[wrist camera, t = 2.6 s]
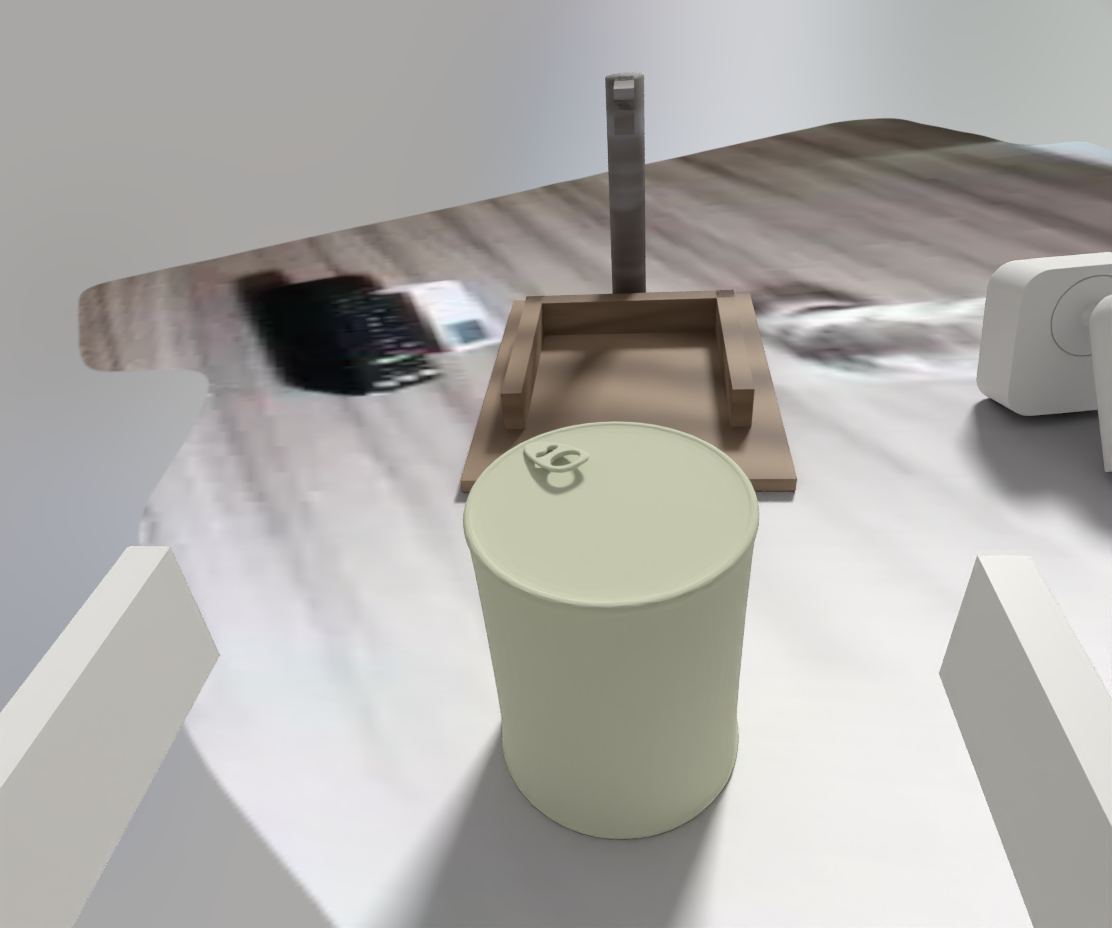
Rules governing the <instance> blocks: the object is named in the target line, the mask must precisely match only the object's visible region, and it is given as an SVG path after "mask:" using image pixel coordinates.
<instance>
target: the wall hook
mask: <svg viewBox="0 0 1112 928" xmlns="http://www.w3.org/2000/svg"><path fill="white" fill-rule="evenodd" d="M977 385H978V388H979V390H980V391H981V392H982V393H983V394H984V395H986V396H987V397H989V398H991V399H993V400H994V401H996V402H998V403H1000V404H1002V405H1003V406H1005V407H1007V408H1009V409H1010V410H1012V411H1014V412H1016V413H1018V414H1020V415H1024V416H1033V415H1045V414H1056V413H1067V412H1078V411H1089V410H1098V416H1099V425H1100V434H1101V443H1102V452H1103V461H1104V466H1105V467H1104V470H1105V472H1112V252H1104V253H1093V254H1081V255H1070V256H1059V257H1047V258H1037V259H1027V260H1016V261H1011V262H1008V263H1006V264H1004V265H1002V266H1001V267H1000V268H998V269H997V270H996V271H995V273H994V274H993V275H992V277H991V279H990V281H989V284H988V288H987V295H986V303H985V311H984V320H983V328H982V337H981V345H980V353H979V362H978V370H977Z"/></svg>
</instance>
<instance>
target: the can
mask: <svg viewBox="0 0 1112 928" xmlns="http://www.w3.org/2000/svg"><path fill="white" fill-rule="evenodd" d="M758 526H759V506H758V501H757V497H756V493H755V491H754V489H753V486H752V484H751V482H750V480H749V479H748V477H747V476H746V474H745V473H744V472H743V471H742V469H741V468H740V467H739V466H738V465H737V464H736V463H735V462H734V461H733V460H732V459H731V458H730V457H728V456H727V455H726V454H725V453H724V452H722V451H721V450H719V449H718V448H716V447H715V446H713V445H711V444H709V443H707V442H706V441H703V440H701V439H699V438H697V437H695V436H692V435H690V434H687V433H684V432H681V431H678V430H674V429H671V428H667V427H663V426H658V425H652V424H645V423H636V422H596V423H587V424H580V425H573V426H569V427H564V428H560V429H557V430H553V431H550V432H547V433H544V434H541V435H538V436H536V437H533V438H531V439H529V440H527V441H525V442H523V443H520V444H519V445H517V446H515V447H513V448H512V449H510V450H508V451H507V452H505V453H504V454H503V455H501V456H500V457H499V458H497V459H496V460H495V461H494V462H493V463H492V464H490V465H489V466H488V467H487V468H486V469H485V470H484V472H483V473H482V474H481V475H480V476H479V478H478V479H477V480H476V482H475V484H474V485H473V487H472V489H471V491H470V493H469V495H468V498H467V501H466V504H465V509H464V515H463V527H464V535H465V538H466V542H467V545H468V547H469V549H470V553H471V557H472V561H473V566H474V570H475V575H476V580H477V585H478V590H479V596H480V601H481V606H482V611H483V616H484V621H485V626H486V632H487V637H488V643H489V648H490V654H491V659H492V665H493V670H494V675H495V681H496V686H497V692H498V699H499V705H500V711H501V717H502V747H503V753H504V758H505V761H506V764H507V767H508V770H509V772H510V774H511V776H512V778H513V780H514V782H515V783H516V785H517V787H518V788H519V789H520V791H521V792H522V793H523V795H524V796H525V797H526V798H527V799H528V800H529V801H530V803H531V804H532V805H533V806H535V807H536V808H537V809H538V810H539V811H541V812H542V813H543V814H544V815H545V816H547V817H549V818H550V819H552V820H553V821H555V822H557V823H558V824H560V825H562V826H564V827H566V828H569V829H571V830H574V831H577V832H579V833H582V834H586V835H590V836H594V837H600V838H607V839H633V838H643V837H649V836H653V835H658V834H661V833H664V832H667V831H669V830H672V829H674V828H677V827H679V826H680V825H682V824H684V823H686V822H688V821H690V820H691V819H693V818H694V817H695V816H697V815H698V814H699V813H701V812H702V811H703V810H704V809H705V808H707V807H708V806H709V805H710V804H711V803H712V802H713V801H714V799H715V798H716V797H717V796H718V795H719V793H720V792H721V791H722V789H723V788H724V786H725V785H726V783H727V781H728V779H729V777H730V775H731V773H732V770H733V768H734V765H735V761H736V757H737V751H738V742H739V733H738V723H737V702H738V689H739V677H740V667H741V657H742V646H743V636H744V626H745V615H746V606H747V597H748V589H749V580H750V571H751V562H752V554H753V547H754V541H755V538H756V534H757V530H758Z"/></svg>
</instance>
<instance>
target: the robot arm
mask: <svg viewBox="0 0 1112 928" xmlns="http://www.w3.org/2000/svg"><path fill="white" fill-rule="evenodd" d="M219 656H220V654H219V652H218V649H217V647H216V645H215V643H214V641H213V639H212V636H211V634H210V632H209V630H208V628H207V625H206V623H205V621H204V619H203V617H202V614H201V612H200V610H199V608H198V606H197V604H196V601H195V599H194V597H193V595H192V593H191V590H190V588H189V586H188V584H187V582H186V580H185V577H184V575H183V573H182V571H181V569H180V566H179V564H178V562H177V560H176V558H175V556H174V553H173V551H172V549H171V547H159V546H128V547H127V549H126V550H125V551H124V553H123V554H122V555H121V556H120V558H119V559H118V561H117V562H116V563H115V564H114V566H113V567H112V568H111V570H110V571H109V572H108V573H107V575H106V576H105V577H104V579H103V580H102V581H101V583H100V584H99V585H98V586H97V588H96V589H95V591H94V592H93V593H92V595H91V596H90V597H89V598H88V599H87V601H86V602H85V603H84V605H83V606H82V607H81V609H80V610H79V611H78V613H77V614H76V615H75V616H74V618H73V619H72V620H71V622H70V623H69V624H68V626H67V627H66V628H65V629H64V631H63V632H62V633H61V635H60V636H59V637H58V639H57V640H56V641H55V643H54V644H53V645H52V646H51V648H50V649H49V651H48V652H47V653H46V654H45V656H44V657H43V658H42V659H41V661H40V662H39V664H38V665H37V666H36V668H35V669H34V670H33V671H32V673H31V674H30V675H29V677H28V678H27V679H26V680H25V682H24V683H23V684H22V686H21V687H20V688H19V689H18V691H17V692H16V694H15V695H14V696H13V697H12V699H11V700H10V701H9V703H8V704H7V705H6V706H5V708H4V709H3V710H2V712H1V713H0V928H72V927H73V925H74V923H75V921H76V920H77V918H78V916H79V914H80V912H81V911H82V909H83V906H84V905H85V903H86V901H87V899H88V898H89V896H90V894H91V892H92V890H93V888H94V886H95V885H96V883H97V881H98V879H99V877H100V875H101V874H102V872H103V870H104V868H105V866H106V864H107V863H108V861H109V859H110V857H111V855H112V853H113V851H114V850H115V848H116V846H117V844H118V842H119V840H120V838H121V837H122V835H123V833H124V831H125V829H126V827H127V826H128V824H129V822H130V820H131V818H132V816H133V814H134V813H135V811H136V809H137V807H138V805H139V803H140V802H141V800H142V798H143V796H144V794H145V792H146V790H147V789H148V787H149V785H150V783H151V781H152V779H153V778H154V776H155V774H156V772H157V770H158V768H159V766H160V765H161V763H162V761H163V759H164V757H165V755H166V753H167V752H168V750H169V748H170V746H171V744H172V743H173V741H174V739H175V737H176V735H177V733H178V732H179V730H180V728H181V726H182V724H183V722H184V720H185V719H186V717H187V715H188V713H189V711H190V709H191V708H192V706H193V704H194V702H195V700H196V698H197V696H198V695H199V693H200V691H201V689H202V687H203V685H204V684H205V682H206V680H207V678H208V676H209V674H210V672H211V671H212V669H213V667H214V665H215V663H216V661H217V660H218V658H219ZM939 675H940V678H941V680H942V683H943V686H944V688H945V691H946V694H947V696H948V699H949V702H950V704H951V707H952V710H953V712H954V715H955V718H956V720H957V723H958V726H959V729H960V731H961V734H962V737H963V739H964V742H965V745H966V747H967V750H968V753H969V755H970V758H971V761H972V763H973V766H974V769H975V771H976V774H977V777H978V779H979V782H980V785H981V788H982V790H983V793H984V796H985V798H986V801H987V804H988V806H989V809H990V812H991V814H992V817H993V820H994V822H995V825H996V828H997V830H998V833H999V836H1000V838H1001V841H1002V844H1003V846H1004V849H1005V852H1006V855H1007V857H1008V860H1009V863H1010V865H1011V868H1012V871H1013V873H1014V876H1015V879H1016V881H1017V884H1018V887H1019V889H1020V892H1021V895H1022V897H1023V900H1024V903H1025V905H1026V908H1027V911H1028V914H1029V916H1030V919H1031V922H1032V924H1033V927H1034V928H1112V698H1111V696H1110V694H1109V693H1108V691H1107V689H1106V687H1105V686H1104V684H1103V682H1102V680H1101V679H1100V677H1099V675H1098V673H1097V672H1096V670H1095V668H1094V666H1093V665H1092V663H1091V661H1090V659H1089V658H1088V656H1087V654H1086V652H1085V651H1084V649H1083V647H1082V645H1081V644H1080V642H1079V640H1078V638H1077V637H1076V635H1075V633H1074V631H1073V630H1072V628H1071V626H1070V624H1069V623H1068V621H1067V619H1066V617H1065V616H1064V614H1063V612H1062V610H1061V609H1060V607H1059V605H1058V603H1057V602H1056V600H1055V598H1054V596H1053V595H1052V593H1051V591H1050V589H1049V588H1048V586H1047V584H1046V582H1045V581H1044V579H1043V577H1042V575H1041V574H1040V572H1039V570H1038V568H1037V567H1036V565H1035V563H1034V561H1033V560H1032V558H1031V556H1000V555H977V558H976V561H975V565H974V568H973V571H972V574H971V577H970V580H969V583H968V586H967V589H966V592H965V595H964V598H963V601H962V604H961V607H960V610H959V614H958V617H957V620H956V623H955V626H954V629H953V632H952V635H951V638H950V641H949V644H948V647H947V650H946V653H945V656H944V659H943V663H942V666H941V669H940V672H939Z"/></svg>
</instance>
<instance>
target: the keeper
mask: <svg viewBox="0 0 1112 928" xmlns="http://www.w3.org/2000/svg"><path fill="white" fill-rule="evenodd" d="M605 81H606V111H607V139H608V170H609V199H610V229H611V258H612V288H613V294H592V295H560V296H529V297H526V300H524V301H514V302H513V306H512V309H511V312H510V316H509V319H508V322H507V326H506V329H505V333H504V336H503V339H502V343H501V346H500V350H499V353H498V356H497V360H496V363H495V366H494V370H493V373H492V377H491V380H490V383H489V387H488V390H487V394H486V397H485V400H484V404H483V407H482V410H481V414H480V417H479V421H478V424H477V427H476V431H475V434H474V437H473V441H472V444H471V448H470V451H469V454H468V458H467V461H466V465H465V468H464V471H463V475H462V478H461V485H462V491H463V492H470V491H471V489H472V487H473V485H474V484H475V482H476V480H477V479H478V478H479V476H480V475H481V474H482V473H483V472H484V470H485V469H486V468H487V467H488V466H489V465H490V464H492V463H493V462H494V461H495V460H496V459H497V458H499V457H500V456H501V455H503V454H504V453H505V452H507V451H508V450H510V449H512V448H513V447H515V446H517V445H519V444H520V443H523V442H525V441H527V440H529V439H531V438H533V437H536V436H538V435H541V434H544V433H547V432H550V431H553V430H557V429H560V428H564V427H569V426H573V425H580V424H587V423H596V422H636V423H645V424H652V425H658V426H663V427H667V428H671V429H674V430H678V431H681V432H684V433H687V434H690V435H692V436H695V437H697V438H699V439H701V440H703V441H706V442H707V443H709V444H711V445H713V446H715V447H716V448H718V449H719V450H721V451H722V452H724V453H725V454H726V455H727V456H728V457H730V458H731V459H732V460H733V461H734V462H735V463H736V464H737V465H738V466H739V467H740V468H741V469H742V471H743V472H744V473H745V474H746V476H747V477H748V479H749V480H750V482H751V484H752V486H753V489H754V491H795V490H796V482H797V477H796V473H795V469H794V465H793V461H792V457H791V454H790V450H789V446H788V442H787V438H786V434H785V430H784V426H783V422H782V418H781V414H780V410H779V406H778V402H777V398H776V395H775V391H774V387H773V383H772V379H771V375H770V371H769V367H768V363H767V359H766V355H765V351H764V347H763V343H762V340H761V336H760V332H759V328H758V324H757V320H756V316H755V312H754V308H753V304H752V300H751V296H750V293H748V294H734V292H733V290H717V291H686V292H655V293H646V272H645V159H644V158H645V152H644V151H645V148H644V147H645V146H644V75H643V74H640V73H618V74H612V75H609V76H607V77H606V78H605Z"/></svg>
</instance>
